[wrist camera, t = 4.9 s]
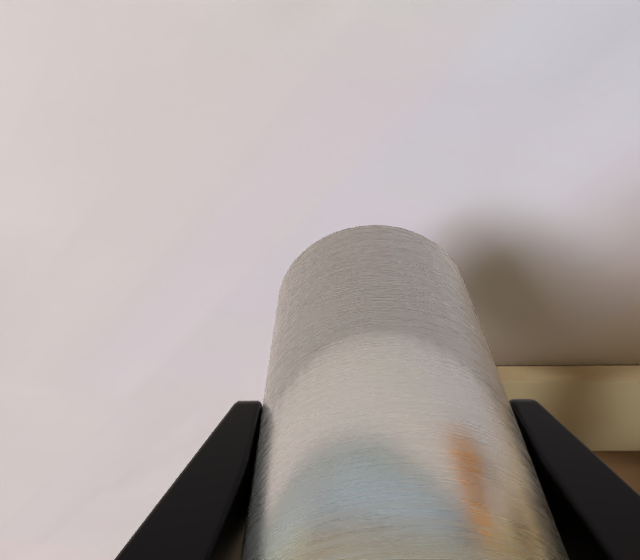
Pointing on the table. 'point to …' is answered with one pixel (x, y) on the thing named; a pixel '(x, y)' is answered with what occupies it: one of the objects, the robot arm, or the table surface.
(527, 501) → the peg
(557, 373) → the socket holder
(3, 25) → the table surface
